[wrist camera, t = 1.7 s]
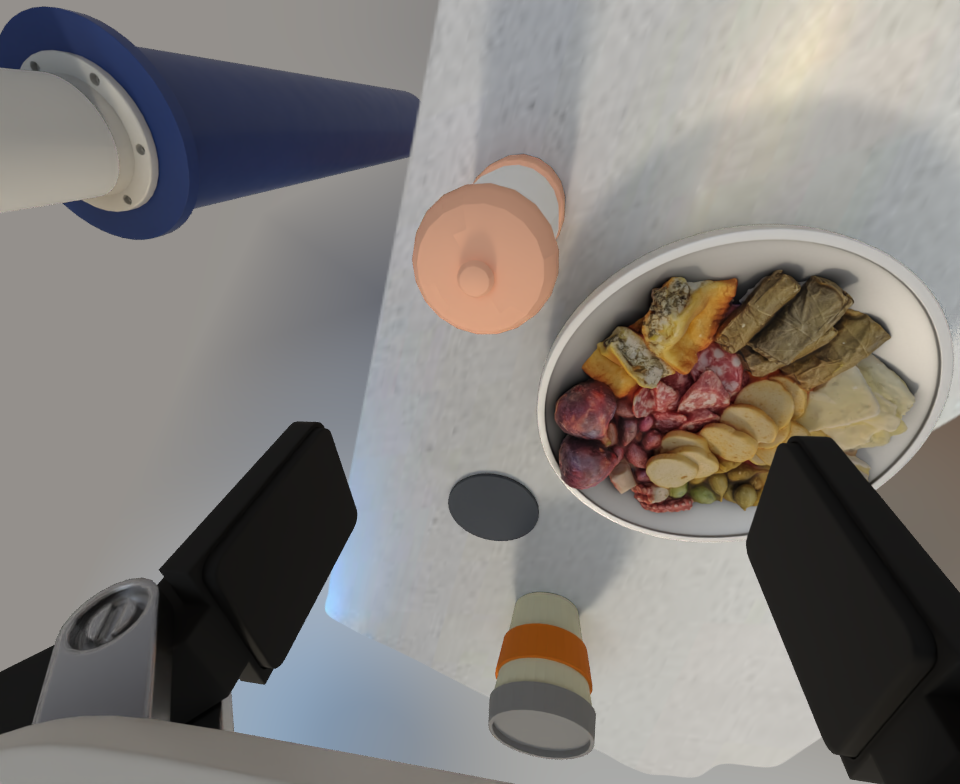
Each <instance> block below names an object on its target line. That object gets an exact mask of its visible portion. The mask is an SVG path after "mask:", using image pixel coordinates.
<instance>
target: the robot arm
mask: <svg viewBox="0 0 960 784" xmlns="http://www.w3.org/2000/svg"><path fill="white" fill-rule="evenodd" d="M158 175H159V169H158V157H157V152H156V146H155V143H154V140H153V137H152V134H151V131H150V129H149V127H148V125H147V123H146V121H145V119H144V117H143V115H142V113H141V112H140V110H139V109H138V107H137V105H136V104H135V102H134V101H133V99H132V98H131V97H130V96H129V94H128V93H127V92H126V91H125V89H124V88H123V87H122V86H121V85H120V84H119V83H118V82H117V81H116V80H115V79H114V78H113V77H112V76H111V75H110V74H109V73H107V72H106V71H105V70H103V69H102V68H101V67H99V66H98V65H97V64H95V63H93V62H92V61H90V60H88V59H86V58H84V57H82V56H79V55H76V54H73V53H70V52H63V51H56V50H46V51H39V52H37V53H35V54H32V55H31V56H30V57H28V58H27V59H26V60H25V61H24V62H23V64H22V66H21V68H20V70H18V69H7V68H0V213H4V212H10V211H16V210H22V209H28V208H34V207H40V206H46V205H52V204H58V203H65V202H71V201H77V200H83V201H85V202H87V203H89V204H91V205H92V206H94V207H97V208H100V209H103V210H107V211H115V212H121V211H128V210H132V209H136V208H139V207H141V206H142V205H144V204H145V203H147V202H148V200H149V199H150V198H151V197H152V196H153V193H154V191H155V189H156V186H157V181H158ZM356 521H357V509H356V506H355V503H354V500H353V497H352V494H351V491H350V488H349V485H348V482H347V479H346V476H345V473H344V471H343V467H342V464H341V461H340V458H339V455H338V452H337V450H336V447H335V443H334V441H333V437H332V435H331V432H330V431H329V430H328V429H325V428H324V426H323V425H322V424H321V423H319V422H294V423H292V424H291V425H290V426H289V427H288V428H287V429H286V431H285V432H284V433H283V434H282V435H281V436H280V437H279V438H278V439H277V440H276V441H275V443H274V444H273V445H272V446H271V447H270V448H269V449H268V450H267V451H266V452H265V454H264V455H263V456H262V457H261V458H260V459H259V460H258V461H257V462H256V463H255V465H254V466H253V467H252V468H251V469H250V470H249V471H248V472H247V473H246V474H245V476H244V477H243V478H242V479H241V480H240V481H239V482H238V483H237V485H235V487H234V488H233V489H232V490H231V491H230V492H229V493H228V494H227V495H226V497H225V498H224V499H223V500H222V501H221V502H220V503H219V504H218V505H217V506H216V507H215V509H214V510H213V511H212V512H211V513H210V514H209V515H208V516H207V517H206V518H205V520H204V521H203V522H202V523H201V524H200V525H199V526H198V527H197V529H196V530H195V531H194V532H193V533H192V534H191V535H190V536H189V537H188V538H187V539H186V540H185V542H184V543H183V544H182V545H181V546H180V547H179V548H178V549H177V550H176V551H175V553H174V554H173V555H172V556H171V557H170V558H169V559H168V560H167V561H166V563H165V564H164V565H163V566H162V567H161V568H160V569H159V571H160V572H161V573H162V575H164V578H163V579H162V580H161V581H160V582H159V584H158V585H156V584H155V583H154V582H153V581H152V580H150V579H146V578H136V579H129V580H125V581H123V582H119V583H116V584H114V585H112V586H110V587H108V588H106V589H104V590H102V591H100V592H99V593H97V594H96V595H94V596H93V597H92V598H90V599H89V600H87V601H86V602H85V603H84V604H83V605H81V606H80V607H79V608H78V609H77V610H76V611H75V612H74V613H73V614H72V615H71V616H70V617H69V619H68V620H67V621H66V622H65V624H64V625H63V626H62V628H61V630H60V633H59V634H58V636H57V639H56V641H55V645H53V646H51V647H49V648H47V649H45V650H43V651H42V652H39V653H37V654H35V655H33V656H31V657H29V658H27V659H25V660H23V661H21V662H19V663H17V664H15V665H13V666H11V667H9V668H7V669H5V670H3V671H1V672H0V784H513V783H507V782H502V781H497V780H491V779H486V778H480V777H475V776H470V775H465V774H460V773H454V772H449V771H444V770H438V769H433V768H427V767H422V766H417V765H411V764H406V763H401V762H395V761H389V760H385V759H379V758H374V757H368V756H363V755H357V754H352V753H346V752H341V751H335V750H330V749H325V748H319V747H313V746H308V745H302V744H296V743H292V742H286V741H280V740H275V739H270V738H264V737H258V736H253V735H247V734H242V733H237V732H234V723H233V710H232V695H231V691H232V689H233V688H234V686H235V684H236V682H237V680H238V679H240V680H241V681H245V682H252V683H258V684H266V682H267V680H268V678H269V676H270V674H271V673H272V671H273V669H276V668H277V667H279V666H280V665H281V664H282V663H283V661H284V660H285V658H286V656H287V654H288V652H289V650H290V648H291V647H292V645H293V642H294V641H295V639H296V637H297V635H298V633H299V631H300V629H301V628H302V626H303V624H304V622H305V619H306V618H307V616H308V614H309V612H310V610H311V608H312V607H313V605H314V603H315V601H316V599H317V597H318V595H319V593H320V591H321V590H322V588H323V586H324V584H325V582H326V580H327V578H328V576H329V574H330V572H331V571H332V569H333V567H334V565H335V563H336V561H337V559H338V557H339V555H340V553H341V552H342V550H343V548H344V546H345V544H346V542H347V540H348V538H349V536H350V534H351V533H352V531H353V529H354V527H355V524H356ZM746 548H747V554H748V557H749V560H750V562H751V564H752V567H753V569H754V572H755V574H756V577H757V579H758V582H759V584H760V586H761V589H762V591H763V594H764V596H765V599H766V601H767V604H768V606H769V609H770V611H771V613H772V616H773V618H774V621H775V623H776V626H777V628H778V631H779V633H780V635H781V638H782V640H783V643H784V645H785V648H786V650H787V653H788V655H789V658H790V660H791V662H792V665H793V667H794V670H795V672H796V675H797V677H798V680H799V682H800V684H801V687H802V689H803V692H804V694H805V697H806V699H807V702H808V704H809V707H810V709H811V711H812V714H813V716H814V719H815V721H816V724H817V726H818V729H819V731H820V733H821V736H822V738H823V740H824V742H825V744H826V746H827V747H828V749H829V750H830V751H831V752H832V753H833V754H836V755H840V757H841V759H842V762H843V764H844V766H845V769H846V771H847V773H848V776H849V778H850V779H852V780H858V781H865V782H871V783H877V784H960V593H959V591H958V590H957V589H956V588H955V586H954V585H953V584H952V583H951V582H950V580H949V579H948V578H947V577H946V576H945V574H944V573H943V572H942V571H941V569H940V568H939V567H938V566H937V565H936V563H935V562H934V561H933V560H932V558H931V557H930V556H929V555H928V554H927V552H926V551H925V550H924V549H923V548H922V546H921V545H920V544H919V543H918V542H917V540H916V539H915V538H914V537H913V535H912V534H911V533H910V532H909V531H908V529H907V528H906V527H905V526H904V524H903V523H902V522H901V521H900V520H899V518H898V517H897V516H896V515H895V514H894V512H893V511H892V510H891V509H890V507H889V506H888V505H887V504H886V503H885V501H884V500H883V499H882V498H881V496H880V495H879V494H878V493H877V492H876V490H875V489H874V488H873V487H872V486H871V484H870V483H869V482H868V481H867V479H866V478H865V477H864V476H863V475H862V473H861V472H860V471H859V470H858V469H857V467H856V466H855V465H854V464H853V462H852V461H851V460H850V459H849V458H848V456H847V455H846V454H845V453H844V452H843V450H842V449H841V448H840V447H839V445H838V444H837V443H836V442H835V441H834V440H833V439H832V438H830V437H824V436H792V437H790V438H789V439H788V441H787V443H780V444H779V445H778V447H777V449H776V451H775V454H774V457H773V460H772V463H771V466H770V469H769V472H768V475H767V478H766V481H765V484H764V487H763V490H762V493H761V496H760V499H759V502H758V505H757V508H756V511H755V514H754V517H753V521H752V524H751V527H750V530H749V533H748V536H747V540H746Z"/></svg>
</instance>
